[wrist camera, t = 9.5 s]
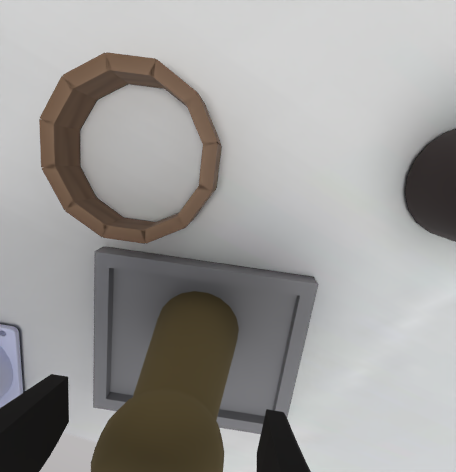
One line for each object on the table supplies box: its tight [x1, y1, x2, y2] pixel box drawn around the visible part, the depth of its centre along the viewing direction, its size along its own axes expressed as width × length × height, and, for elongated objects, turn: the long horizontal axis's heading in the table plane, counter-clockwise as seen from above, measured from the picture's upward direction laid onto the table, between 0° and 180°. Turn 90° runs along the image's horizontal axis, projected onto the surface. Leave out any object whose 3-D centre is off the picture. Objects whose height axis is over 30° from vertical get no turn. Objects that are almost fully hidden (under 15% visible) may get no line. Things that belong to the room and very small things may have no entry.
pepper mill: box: [91, 291, 239, 472], centre depth 15 cm, size 6×6×11 cm
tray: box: [93, 247, 318, 434], centre depth 20 cm, size 15×13×1 cm
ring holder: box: [39, 53, 222, 244], centre depth 17 cm, size 10×10×2 cm
